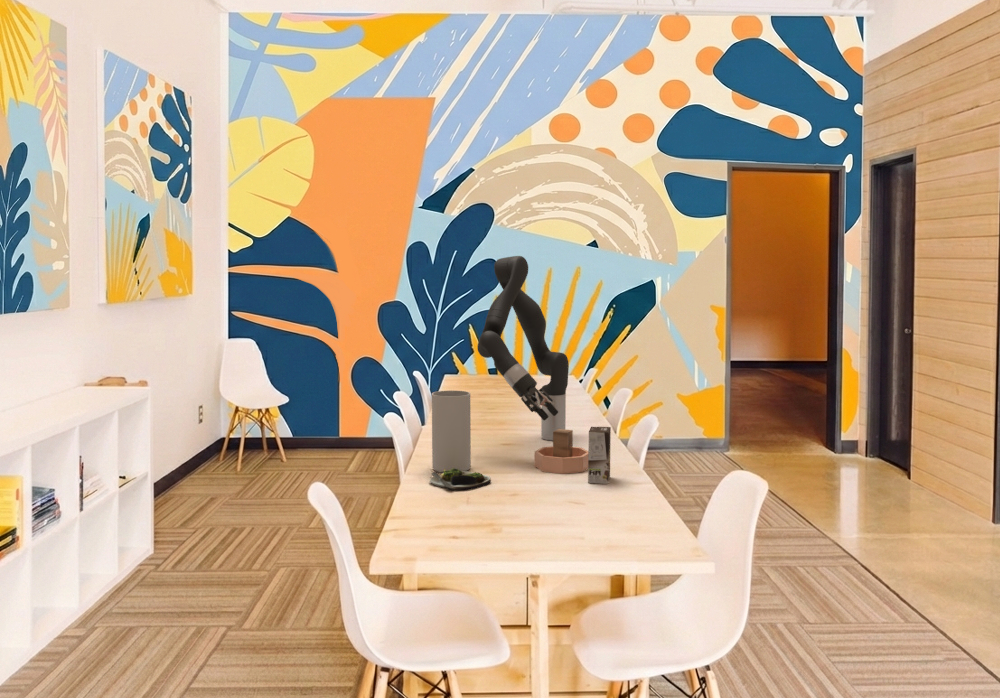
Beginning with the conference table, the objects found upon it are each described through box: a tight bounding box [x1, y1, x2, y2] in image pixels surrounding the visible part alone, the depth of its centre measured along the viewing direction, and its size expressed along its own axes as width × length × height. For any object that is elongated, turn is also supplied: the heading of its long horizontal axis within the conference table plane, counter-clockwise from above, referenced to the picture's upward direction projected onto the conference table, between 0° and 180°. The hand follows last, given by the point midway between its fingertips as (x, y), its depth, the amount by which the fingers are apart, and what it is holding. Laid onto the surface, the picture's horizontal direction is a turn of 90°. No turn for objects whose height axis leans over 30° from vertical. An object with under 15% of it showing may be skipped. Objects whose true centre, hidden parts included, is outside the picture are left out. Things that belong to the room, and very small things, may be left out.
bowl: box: [533, 445, 589, 475], centre depth 273 cm, size 17×17×5 cm
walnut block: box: [552, 428, 574, 458], centre depth 273 cm, size 5×5×11 cm
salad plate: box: [429, 468, 492, 492], centre depth 254 cm, size 19×18×5 cm
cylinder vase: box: [431, 389, 472, 474], centre depth 269 cm, size 12×12×25 cm
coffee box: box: [587, 426, 612, 485], centre depth 256 cm, size 9×6×16 cm
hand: (551, 416), depth 273 cm, fingers open, 8 cm apart
